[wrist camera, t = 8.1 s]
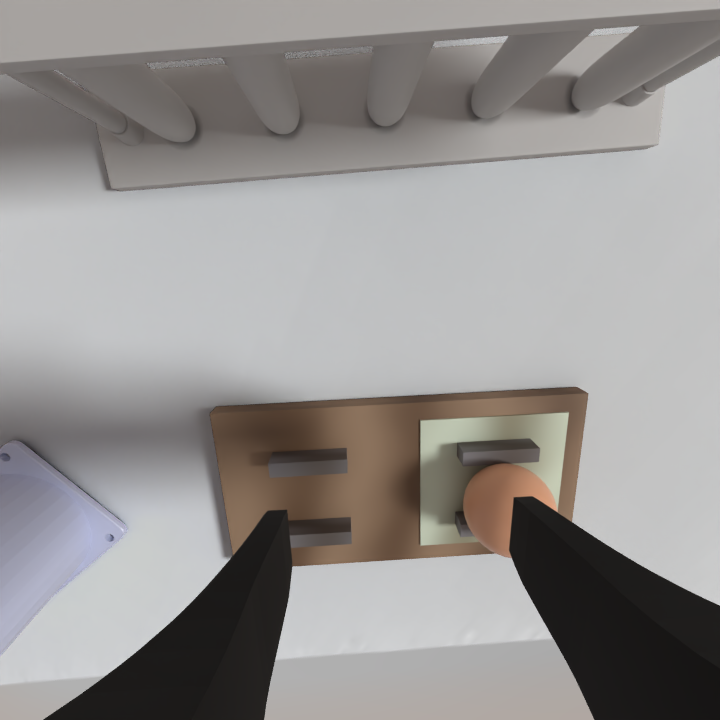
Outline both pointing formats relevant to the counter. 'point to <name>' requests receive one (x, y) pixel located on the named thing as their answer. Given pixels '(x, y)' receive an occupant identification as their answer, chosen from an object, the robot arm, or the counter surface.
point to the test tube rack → (353, 80)
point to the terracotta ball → (500, 502)
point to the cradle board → (389, 467)
